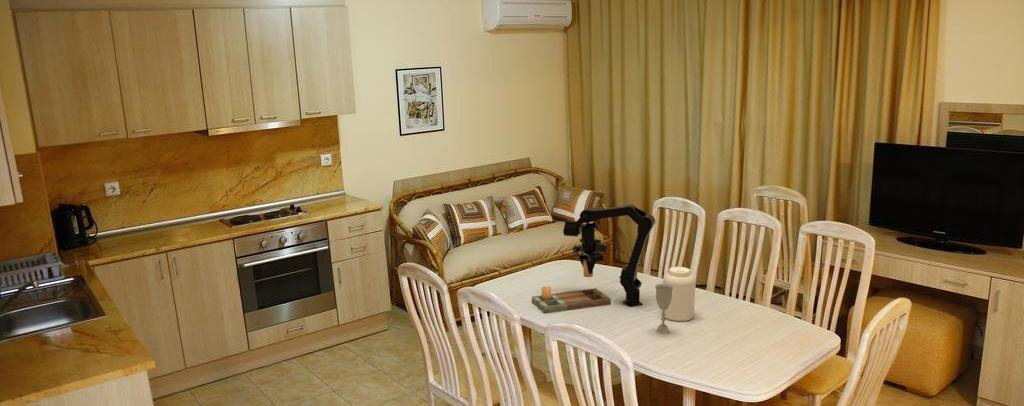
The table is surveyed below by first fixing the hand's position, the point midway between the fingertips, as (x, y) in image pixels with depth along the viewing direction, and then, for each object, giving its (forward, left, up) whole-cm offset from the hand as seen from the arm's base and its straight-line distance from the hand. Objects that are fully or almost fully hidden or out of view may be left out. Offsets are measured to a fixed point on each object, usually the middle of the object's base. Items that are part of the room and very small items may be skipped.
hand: (588, 272), depth 323 cm
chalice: (-45, -11, -12) cm, 48 cm away
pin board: (-3, +9, -12) cm, 15 cm away
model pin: (0, +19, -12) cm, 23 cm away
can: (-33, -25, -12) cm, 43 cm away
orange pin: (0, 0, -2) cm, 2 cm away
